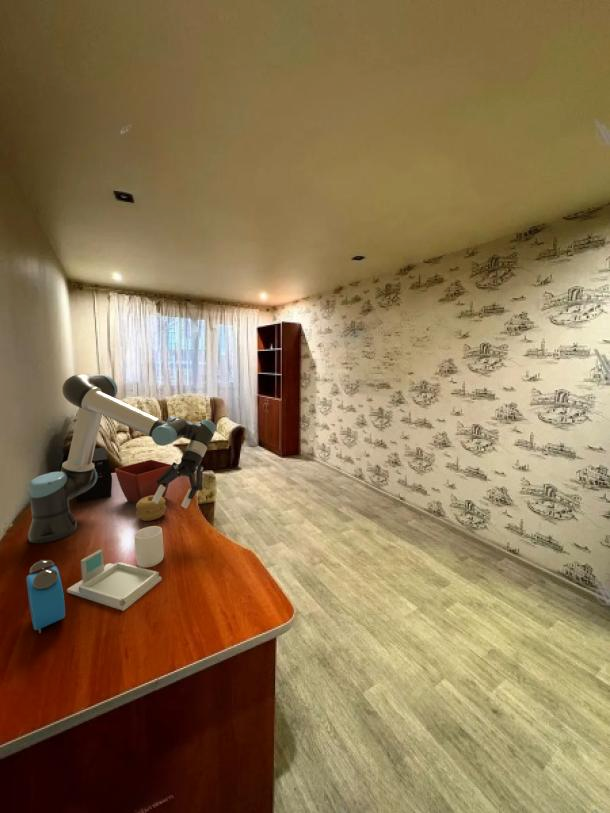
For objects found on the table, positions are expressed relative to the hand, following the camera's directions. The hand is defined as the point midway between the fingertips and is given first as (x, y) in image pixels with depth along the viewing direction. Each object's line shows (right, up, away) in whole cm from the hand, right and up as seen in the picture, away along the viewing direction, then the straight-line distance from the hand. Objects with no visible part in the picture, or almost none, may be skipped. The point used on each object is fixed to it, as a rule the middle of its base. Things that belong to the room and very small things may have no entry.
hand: (168, 504), depth 116 cm
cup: (-3, -16, -8) cm, 18 cm away
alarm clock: (-16, -19, -35) cm, 43 cm away
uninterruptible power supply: (-64, -10, +55) cm, 85 cm away
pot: (-17, -13, +22) cm, 30 cm away
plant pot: (-30, -11, +43) cm, 53 cm away
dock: (-6, -17, -22) cm, 29 cm away
